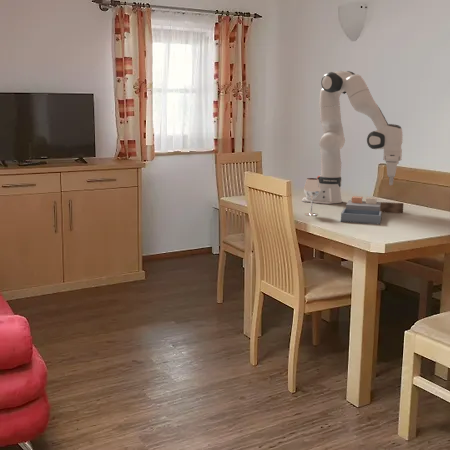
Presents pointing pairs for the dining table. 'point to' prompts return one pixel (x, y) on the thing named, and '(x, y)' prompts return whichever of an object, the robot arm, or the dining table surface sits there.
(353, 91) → the robot arm
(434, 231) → the dining table surface
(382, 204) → the scraper bar
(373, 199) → the tile cream
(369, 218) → the box
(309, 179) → the wineglass
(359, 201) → the tile terracotta
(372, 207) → the grey flat block
